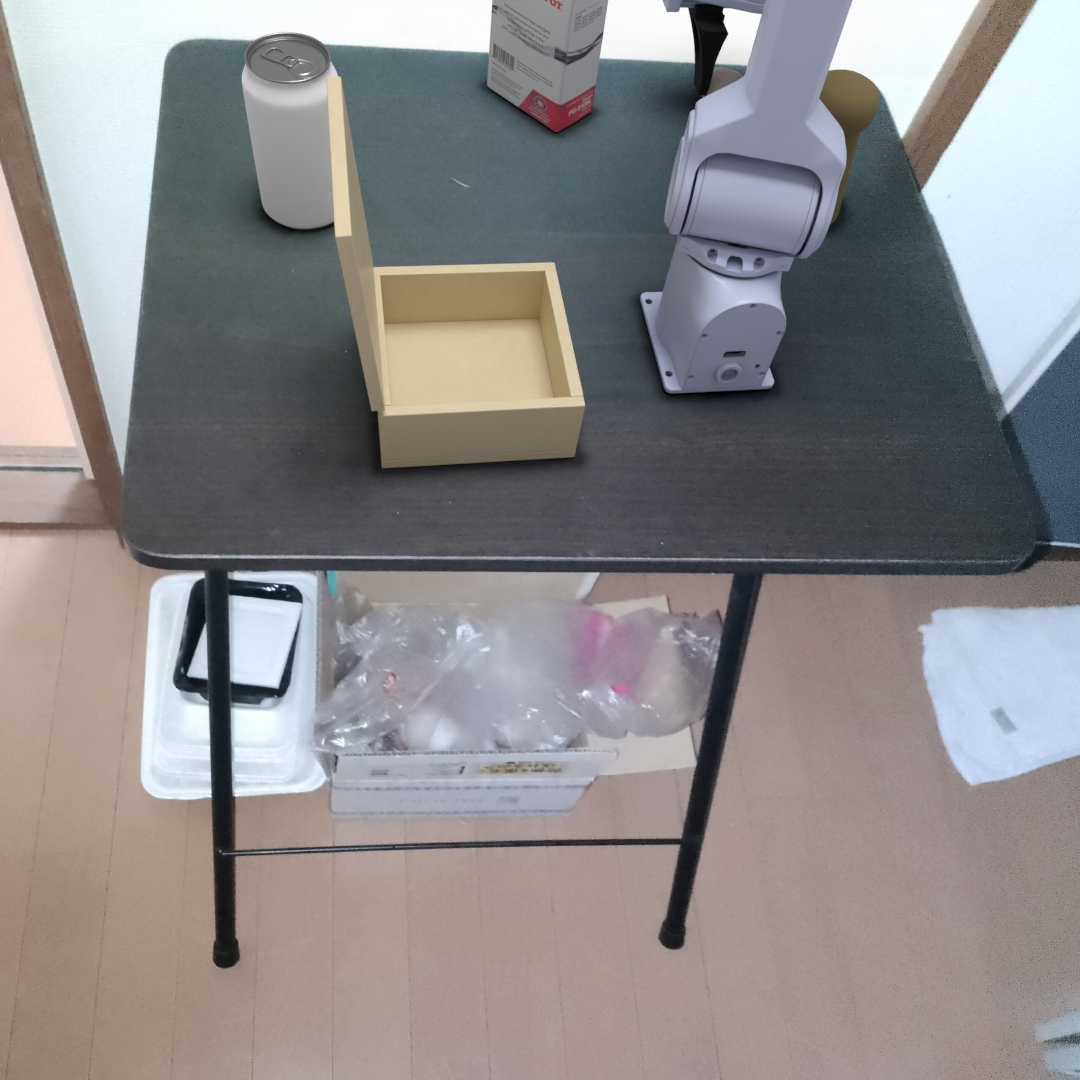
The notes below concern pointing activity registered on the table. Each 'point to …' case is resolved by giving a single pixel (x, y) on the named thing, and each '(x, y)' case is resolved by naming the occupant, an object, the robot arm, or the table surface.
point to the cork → (849, 113)
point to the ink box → (547, 56)
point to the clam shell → (722, 79)
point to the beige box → (475, 365)
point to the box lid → (354, 242)
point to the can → (290, 127)
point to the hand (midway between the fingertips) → (726, 88)
